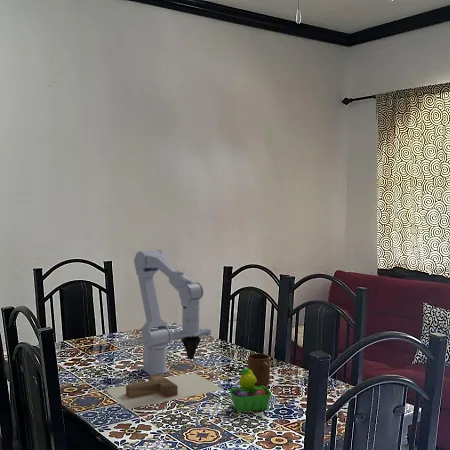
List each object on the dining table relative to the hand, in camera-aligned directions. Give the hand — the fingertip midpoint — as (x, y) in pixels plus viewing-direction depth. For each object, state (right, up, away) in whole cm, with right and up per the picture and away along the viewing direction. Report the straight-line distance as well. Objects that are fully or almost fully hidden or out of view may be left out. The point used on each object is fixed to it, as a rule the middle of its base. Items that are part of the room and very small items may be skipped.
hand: (190, 358), depth 192 cm
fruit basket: (+19, -11, -19) cm, 29 cm away
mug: (+24, -9, 0) cm, 26 cm away
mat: (-9, -10, -5) cm, 14 cm away
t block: (-13, -9, -7) cm, 18 cm away
